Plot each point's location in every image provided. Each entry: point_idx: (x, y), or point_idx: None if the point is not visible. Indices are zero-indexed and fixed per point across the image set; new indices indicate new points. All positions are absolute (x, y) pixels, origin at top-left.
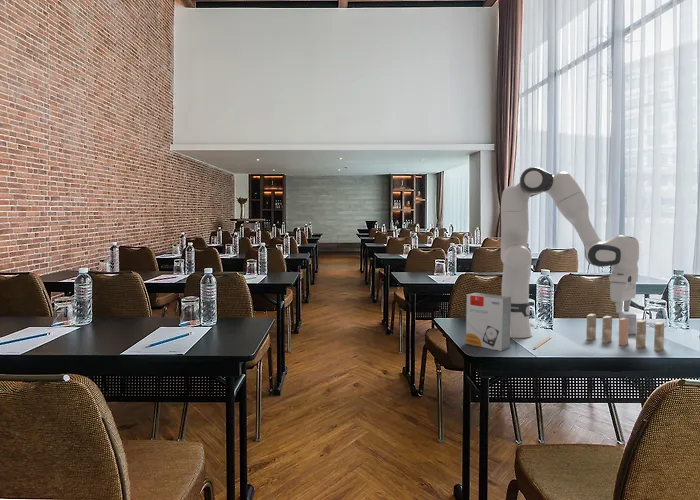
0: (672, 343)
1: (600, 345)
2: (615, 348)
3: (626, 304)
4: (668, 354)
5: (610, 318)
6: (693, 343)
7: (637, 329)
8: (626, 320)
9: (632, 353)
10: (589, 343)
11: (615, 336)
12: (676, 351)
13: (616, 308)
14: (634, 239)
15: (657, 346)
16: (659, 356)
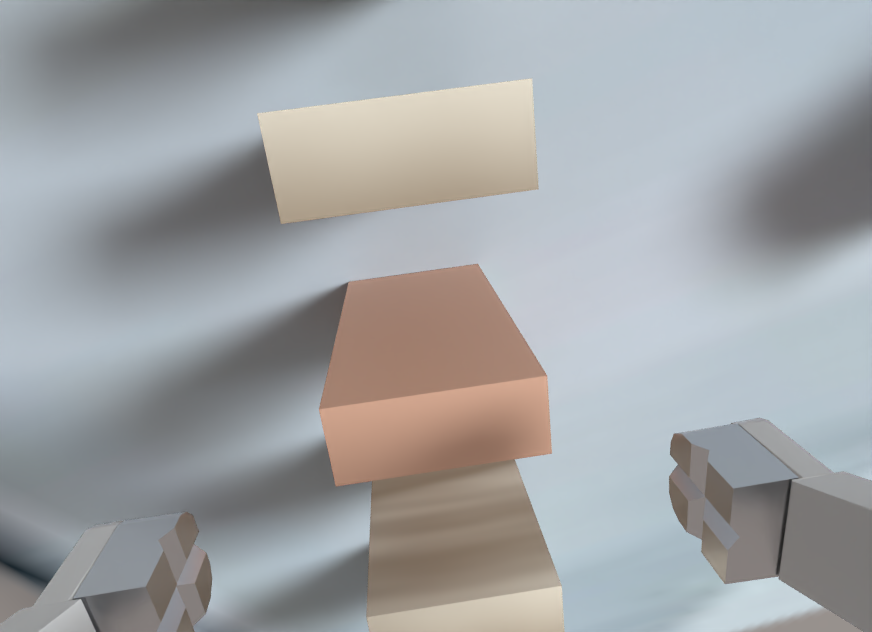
0: None
1: (144, 181)
2: (164, 331)
3: (819, 537)
4: (347, 628)
5: (428, 200)
6: None
7: (370, 544)
8: (418, 463)
9: (126, 488)
10: (117, 50)
11: (722, 86)
12: None
13: (42, 600)
14: None
15: None
16: (228, 620)
